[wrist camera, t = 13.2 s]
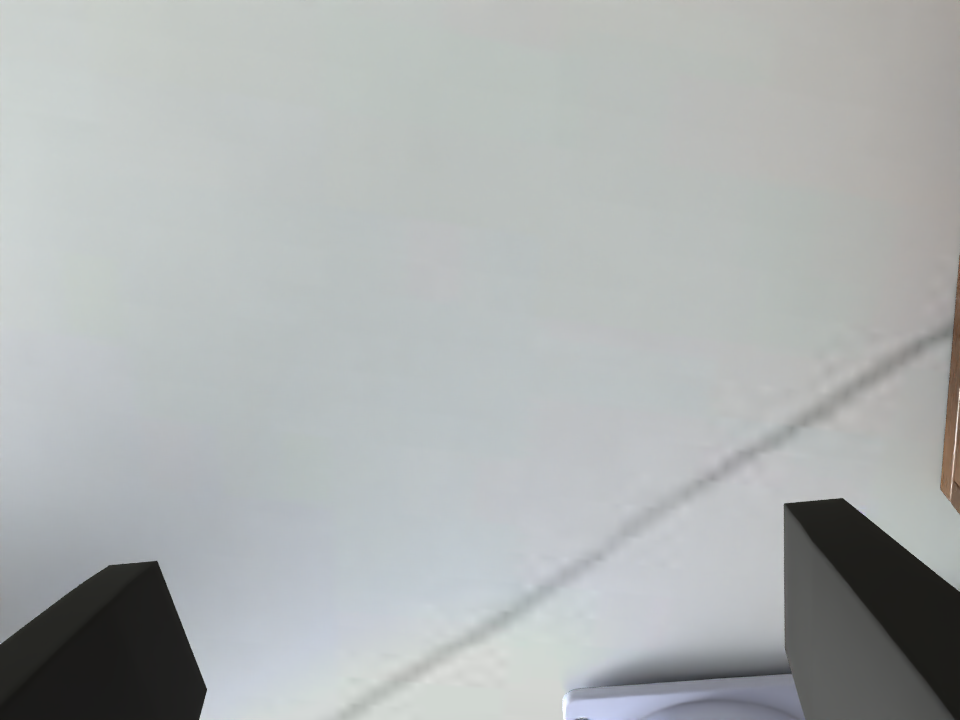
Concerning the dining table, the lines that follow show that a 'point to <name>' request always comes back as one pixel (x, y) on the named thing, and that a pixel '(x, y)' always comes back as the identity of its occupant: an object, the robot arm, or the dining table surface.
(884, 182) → the dining table surface
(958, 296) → the compartment tray
